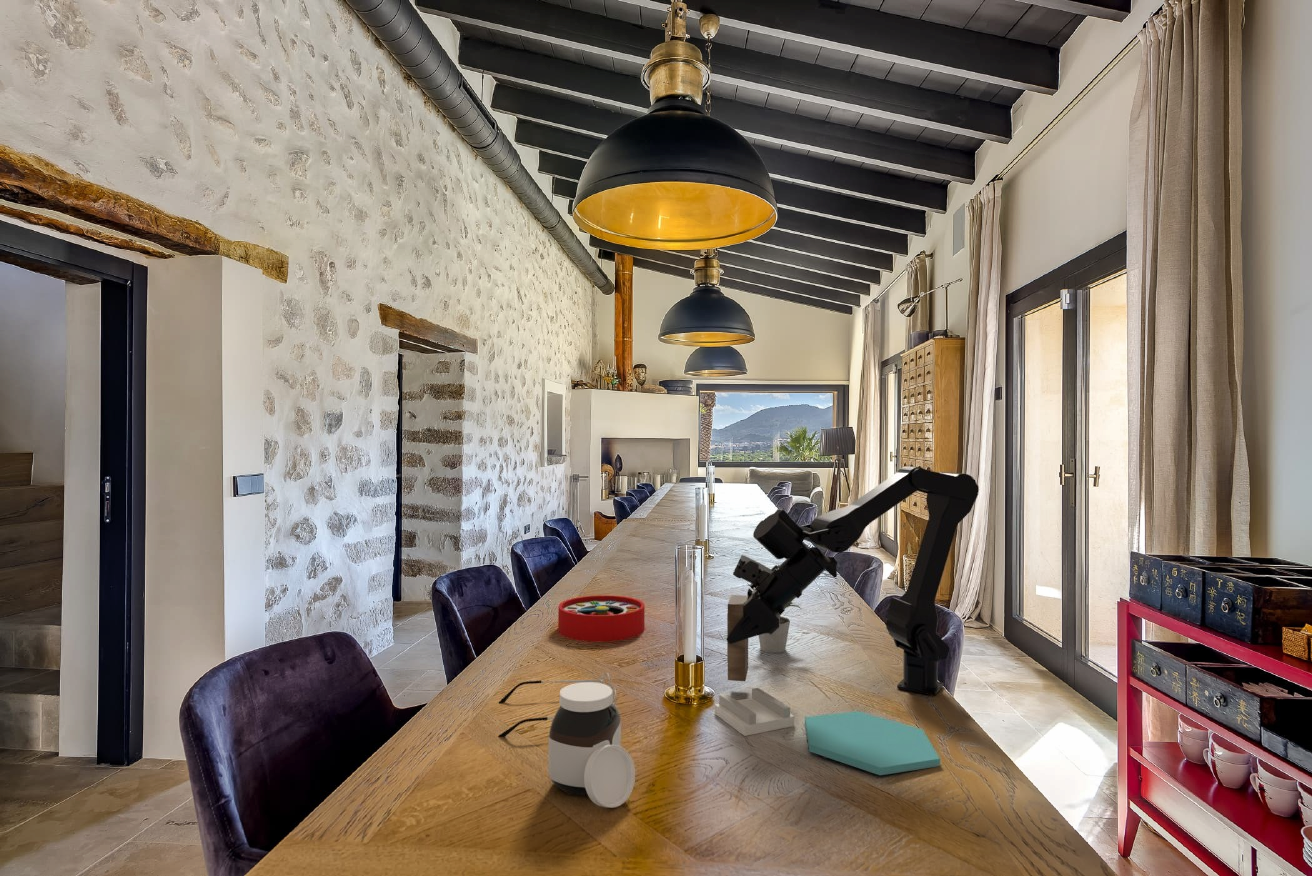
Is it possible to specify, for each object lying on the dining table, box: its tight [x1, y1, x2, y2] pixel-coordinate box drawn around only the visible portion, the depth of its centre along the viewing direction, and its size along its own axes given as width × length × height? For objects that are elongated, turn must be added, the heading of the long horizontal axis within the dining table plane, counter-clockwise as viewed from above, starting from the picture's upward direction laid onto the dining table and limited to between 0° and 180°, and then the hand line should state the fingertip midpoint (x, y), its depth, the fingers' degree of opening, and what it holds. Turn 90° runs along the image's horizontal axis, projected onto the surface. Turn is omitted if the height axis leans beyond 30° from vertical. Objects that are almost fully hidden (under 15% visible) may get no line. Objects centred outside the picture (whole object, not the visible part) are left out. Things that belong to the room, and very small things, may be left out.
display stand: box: [714, 687, 795, 737], centre depth 107 cm, size 9×9×3 cm
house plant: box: [746, 583, 802, 654], centre depth 142 cm, size 14×14×16 cm
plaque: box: [804, 710, 941, 776], centre depth 99 cm, size 18×2×20 cm
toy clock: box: [557, 594, 646, 643], centre depth 158 cm, size 20×6×20 cm
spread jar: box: [547, 682, 636, 809], centre depth 86 cm, size 12×11×12 cm
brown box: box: [726, 594, 749, 682], centre depth 119 cm, size 3×7×13 cm, turn 168°
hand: (730, 635), depth 120 cm, fingers closed on brown box, 7 cm apart
